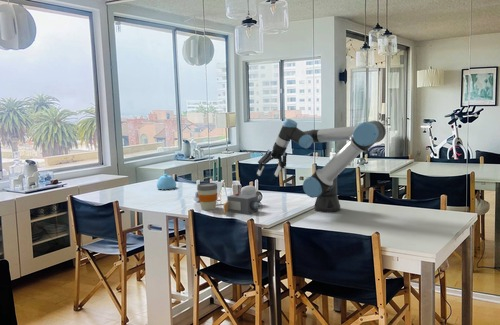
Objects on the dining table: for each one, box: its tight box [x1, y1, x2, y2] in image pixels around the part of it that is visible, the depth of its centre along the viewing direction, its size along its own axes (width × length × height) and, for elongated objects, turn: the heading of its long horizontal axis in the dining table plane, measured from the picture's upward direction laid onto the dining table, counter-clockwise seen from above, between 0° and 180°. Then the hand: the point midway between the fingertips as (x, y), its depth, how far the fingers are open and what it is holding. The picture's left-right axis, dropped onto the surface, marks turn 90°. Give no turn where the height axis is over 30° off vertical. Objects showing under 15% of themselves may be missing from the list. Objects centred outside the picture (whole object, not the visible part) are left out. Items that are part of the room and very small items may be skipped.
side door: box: [223, 199, 229, 215], centre depth 276 cm, size 11×1×6 cm, turn 171°
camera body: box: [227, 192, 260, 215], centre depth 280 cm, size 18×9×10 cm, turn 51°
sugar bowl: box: [156, 173, 177, 190], centre depth 368 cm, size 15×15×12 cm
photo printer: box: [240, 185, 257, 196], centre depth 296 cm, size 10×4×12 cm, turn 123°
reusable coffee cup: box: [196, 182, 218, 211], centre depth 292 cm, size 13×12×15 cm
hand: (267, 175), depth 280 cm, fingers open, 13 cm apart
